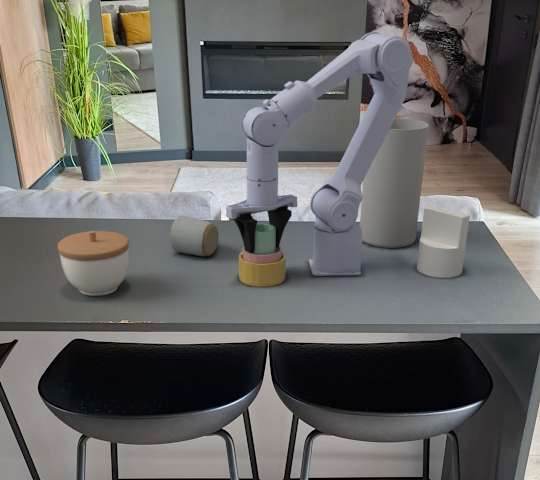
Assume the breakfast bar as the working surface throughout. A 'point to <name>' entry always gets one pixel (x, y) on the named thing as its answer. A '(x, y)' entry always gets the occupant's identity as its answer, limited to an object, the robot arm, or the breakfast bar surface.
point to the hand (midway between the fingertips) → (262, 248)
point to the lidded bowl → (95, 261)
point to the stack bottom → (262, 272)
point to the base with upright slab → (442, 242)
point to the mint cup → (265, 239)
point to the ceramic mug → (193, 236)
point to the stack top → (263, 257)
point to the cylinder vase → (394, 186)
